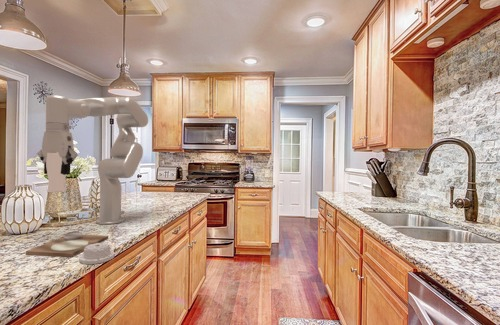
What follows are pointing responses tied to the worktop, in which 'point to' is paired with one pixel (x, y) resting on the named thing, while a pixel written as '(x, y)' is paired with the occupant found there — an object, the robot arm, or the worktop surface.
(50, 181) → the beer glass
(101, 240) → the carrier plate
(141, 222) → the worktop surface
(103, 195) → the robot arm
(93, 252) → the mechanical component
